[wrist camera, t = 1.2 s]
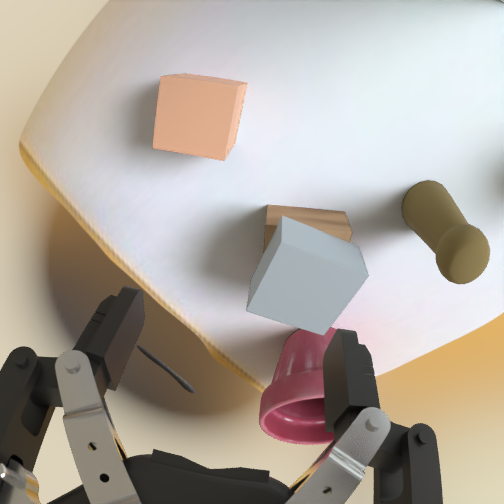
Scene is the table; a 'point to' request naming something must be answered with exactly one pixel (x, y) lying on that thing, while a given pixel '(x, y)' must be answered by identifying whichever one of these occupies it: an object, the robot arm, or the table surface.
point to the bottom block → (308, 221)
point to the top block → (305, 277)
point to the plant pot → (298, 392)
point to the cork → (446, 232)
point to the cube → (198, 115)
